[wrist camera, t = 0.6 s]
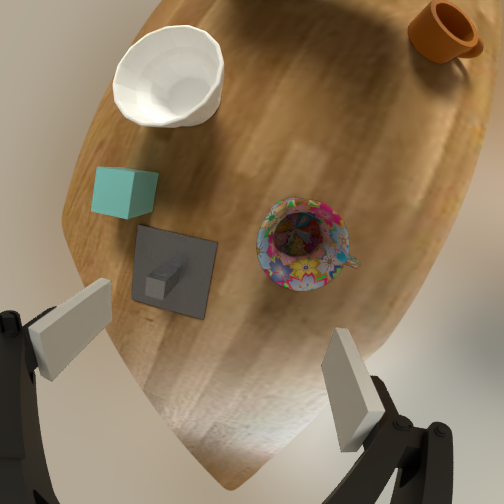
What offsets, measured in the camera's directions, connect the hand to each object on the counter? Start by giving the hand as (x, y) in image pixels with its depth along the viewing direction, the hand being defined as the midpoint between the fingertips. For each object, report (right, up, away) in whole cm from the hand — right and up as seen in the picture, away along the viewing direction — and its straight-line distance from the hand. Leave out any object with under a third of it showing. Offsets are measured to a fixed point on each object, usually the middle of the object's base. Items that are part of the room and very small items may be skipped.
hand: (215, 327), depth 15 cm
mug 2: (+33, +38, +13) cm, 52 cm away
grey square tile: (-10, +1, +25) cm, 27 cm away
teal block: (-14, +13, +22) cm, 29 cm away
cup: (-6, +25, +19) cm, 32 cm away
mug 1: (+9, +7, +23) cm, 25 cm away
